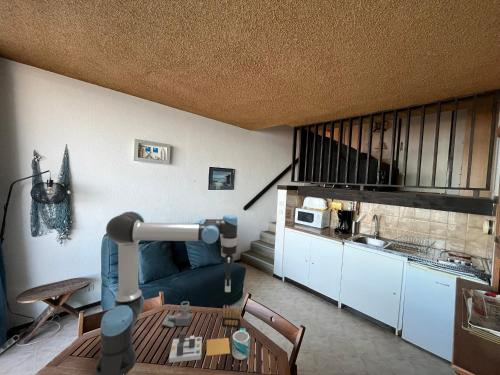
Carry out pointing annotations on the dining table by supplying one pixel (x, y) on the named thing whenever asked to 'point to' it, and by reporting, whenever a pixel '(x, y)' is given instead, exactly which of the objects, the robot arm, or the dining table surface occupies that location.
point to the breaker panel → (186, 351)
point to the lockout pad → (218, 347)
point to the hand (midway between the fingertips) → (227, 285)
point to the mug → (240, 344)
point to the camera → (179, 317)
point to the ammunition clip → (231, 317)
